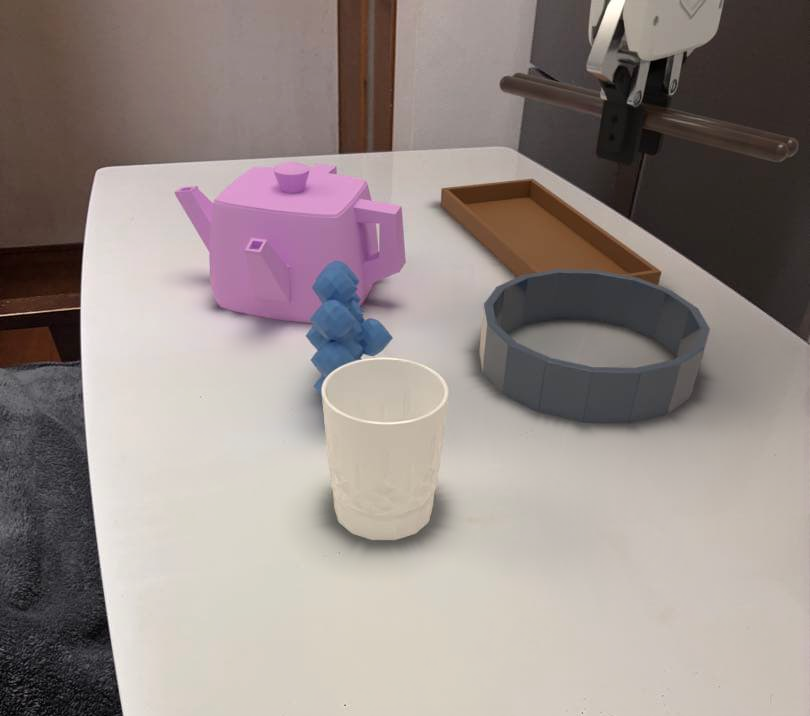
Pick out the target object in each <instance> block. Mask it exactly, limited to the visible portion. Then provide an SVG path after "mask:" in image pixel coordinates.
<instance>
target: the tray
mask: <svg viewBox="0 0 810 716" xmlns="http://www.w3.org/2000/svg"><path fill="white" fill-rule="evenodd" d="M440 189H441V191H440V207H441V208H442V209H443V210H444V211H445V212H446V213H447V214H448V215H449V216H451V218H453V219H454V220H455V221H456V222H457V223H458V224H460V225H461V227H463V228H464V229H465V230H466V231H467V232H468V233H469V234H470V235H471V236H472V237H473V238H474V239H475V240H477V241H478V242H479V243H480V244H481V245H482V246H483V247H484V248H485V249H487V250H488V251H489V252H490V253H491V254H492V255H493V256H494V257H495V258H496V259H497V260H498V261H499V262H500V263H502V264H503V266H505V267H506V268H507V269H508V270H509V271H510V272H511V273H512V274H513V275H514V276H515V277H516V278H517V277H519V276H521V275H526V274H532V273H538V272H544V271H550V270H558V269H569V270H599V271H604V272H610V273H615V274H621V275H626V276H631V277H636V278H639V279H642V280H645V281H647V282H650V283H653V284H656V285H658V286H660V285H659V284H660V281H661V280H660V279H661V275H662V271H661V270H660V269H659V268H657V267H656V266H655V265H653V264H652V263H650V262H649V261H647V260H646V259H645V258H644V257H642V256H641V255H640V254H638V253H637V252H635V251H634V250H632V249H631V248H630V247H629V246H627V245H626V244H624V243H623V242H621V241H620V240H619V239H618V238H616V237H615V236H613V235H611V234H610V233H609V232H608V231H606V230H605V229H604V228H602V227H601V226H599V225H598V224H596V223H595V222H594V221H592V220H591V219H590V218H588V217H587V216H585V215H584V214H583V213H581V212H580V211H579V210H577V208H574V207H573V206H572V205H570V204H569V203H567V202H566V201H565V200H564V199H562V198H561V197H559V196H558V195H556V194H555V193H553V192H552V191H551V190H550V189H548V188H547V187H545V186H544V185H543V184H541V182H538V181H537V180H535V179H534V178H523V179H516V180H507V181H497V182H487V183H478V184H467V185H459V186H450V187H441V188H440Z"/></svg>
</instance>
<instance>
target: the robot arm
mask: <svg viewBox="0 0 810 716" xmlns="http://www.w3.org/2000/svg"><path fill="white" fill-rule="evenodd" d="M590 1H591V2H590V10H589V19H588V42H589V44H590V46H591V49H590V53H589V55H588V57H587V60H586V65H585V67H586V71H587V72H588V73H589V74H591V75H592V76H594V77H595V78H596V79H598V82H599V84H600V86H601V87H600V92H601V93H600V96H601V99H602V100H604V103H603V109H602V116H601V117H600V121H599V122H600V123H599V130H598V134H597V141H596V142H597V143H596V149H595V154H596V156H597V158H599V159H602V160H605V161H606V160H607V161H609V162H612V163H617V164H620V165H624V166H627V167H629V166H632V165H634V164H635V163H636V162H637V159H638V154H639V153H641V154H645V155H648V156H649V155H650V156H656V155H658V154H660V153H661V152H662V149H663V148H662V147H663V144H664V138H665V134H664V133H660V132H656V131H653V130H649V129H645V128H643V122H644V117H645V112H646V106H644V105H640V103H641V102H645V103H649V104H653V105H657V106H661V107H666V108H670V109H671V103H672V98H673V97H672V96H673V95H674V94H675V93H676V91H677V88H678V86H679V81H680V77H681V76H680V75H681V70H682V69H683V67H684V66H685V63H686V62H687V60H688V57H689V56H691V54H692V53H693V51H694V50H695V49H698V48H700V47H702V46H704V45H706V44H707V43H708V42H710V41H711V40H713V38H714V37H715V35H716V34H717V32H718V30H719V25H720V21H721V16H722V11H723V7H724V2H725V0H590ZM626 45H627V48H628V49H624V48H623V47H624V46H626ZM622 63H624V64H628V65H632V66H633V67H632V71H631V72H632V73H630V70H629V68H628V66H625V65H623V64H622Z"/></svg>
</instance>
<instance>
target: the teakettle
mask: <svg viewBox="0 0 810 716" xmlns="http://www.w3.org/2000/svg"><path fill="white" fill-rule="evenodd" d="M337 170H338V169H337V165H332V164H331V165H329V164H321V163H314V164H313V165H312V166H308V165H307V164H304V163H301V162H295V161H287V162H282V163H279V164H276V165H275V166H273V167H271V166H252V167H251V168H249V169H247V170H246V171H244V172H243V173H242V174H241V175H239V176H238V177H237V178H235V179H234V180H233V181H232V182H231V183H230V184H228V186H226V187H225V188H224V189H223V190H222V191H221V192H220V193H219V194H218V195H217V196H216V197H215V198H214V199H213V201H211V199H209V197H207V196H206V195H205V194H204V193H203V192H202V191H201V190H200V189H199V186H198V185H191V186H181V187H180V188H178V189H177V190H175V191H174V195H175V197H176V199H177V201H178V203H179V204H180V205H181V207H182V209H183V211H184V212H185V214H186V216H187V218H188V219H189V221H190V223H191V224H192V226H193V228H194V229H195V231H196V232H197V234H198V236H199V237H200V239H201V241H202V243H203V244H204V246H205V248H206V249H207V251H208V254H209V255H208V257H209V259H208V260H209V278H210V286H211V291H212V294H213V297H214V298H215V301H216V303H217V305H218V307H220V308H221V309H225V310H227V311H232V312H235V313H240V314H244V315H245V314H246V315H250V316H255V317H261V318H266V319H271V320H272V319H273V320H279V321H286V322H295V323H303V324H304V323H305V324H312V322H311V321H310V318H311V317H312V316H313V314H314V313H315V312H316V311H317V309H318V308H319V307H320V306H321V305H322V303H321V301H320V300H319V297H318V296H317V294H316V293H315V292H314V290H313V289H312V286H313V285H314V283H315V282H316V278H317V277H318V276H319V274H320V273H321V272H322V271H323V269H324V268H325V267H326V266H327V265H328V264H329V263H331V262H333V261H341V262H343V263H345V264H346V265H347V266H348V267H349V268H350V269H351V270H352V272H353V273H354V274H355V275H356V277H357V278H358V280H359V281H360V282H359V283H358V284H357V286H356V287H357V288H358V289H357V291H356V294H357V295H358V297H359V298H360V299H361V300H360V302H359V303H358V305H359V306H360V307H361V306H362V305H363V303H364V302H365V300H366V299H367V297H368V296H369V294H370V292H371V291H372V289H373V286H374V284H375V283H376V282H378V281H381V280H384V279H386V278H389V277H392V276H393V275H395V274H397V273H400V272H401V270H402V269H403V268H404V266H405V265H406V263H407V262H406V261H407V260H406V259H407V258H406V248H405V232H404V218H403V206H402V205H398V204H394V203H393V204H392V203H387V202H381V201H375V200H372V196H371V192H370V187H369V183H368V181H367V180H365V179H363V178H359V177H355V176H349V175H344V174H338V171H337ZM377 224H378V225H379V229H377ZM378 235H379V236H378Z"/></svg>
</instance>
